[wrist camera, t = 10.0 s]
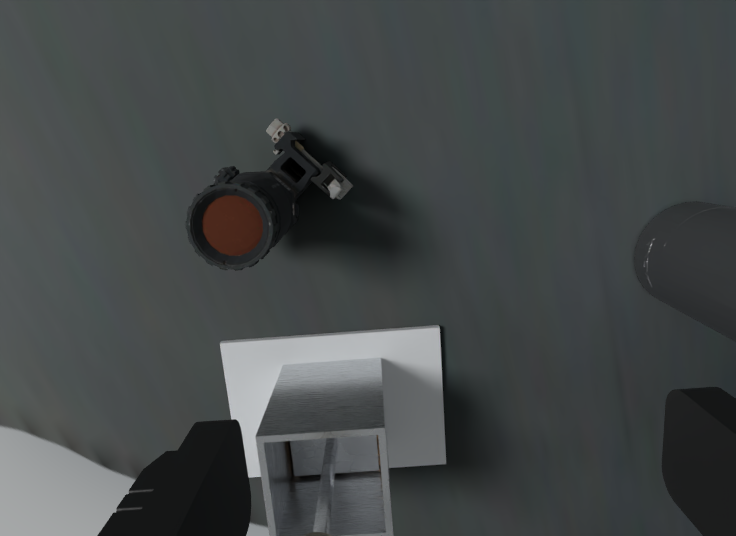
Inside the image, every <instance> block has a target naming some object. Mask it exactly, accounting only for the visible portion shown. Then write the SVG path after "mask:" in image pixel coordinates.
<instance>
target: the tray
mask: <svg viewBox="0 0 736 536" xmlns="http://www.w3.org/2000/svg"><path fill="white" fill-rule="evenodd" d="M220 348H221V354H222V361H223V367H224V374H225V380H226V387H227V393H228V399H229V406H230V412H231V419H232V420H233V419H236V420H237V421H238V422H239V424H240V427H241V431H242V438H243V444H244V451H245V458H246V464H247V471H248V477H261V472H260V465H259V458H258V452H257V445H256V438H255V436H256V434H257V431H258V429H259V426H260V423H261V421H262V418H263V416H264V413H265V410H266V408H267V405H268V403H269V400H270V397H271V395H272V392H273V390H274V387H275V384H276V382H277V379H278V377H279V374H280V371H281V369H282V366H283V365H284V364H298V363H312V362H326V361H340V360H354V359H368V358H381V366H382V378H383V391H384V404H385V417H386V430H387V443H388V459H389V468H396V467H411V466H426V465H440V464H446V448H445V427H444V406H443V385H442V364H441V343H440V327H439V325H434V326H421V327H407V328H393V329H379V330H366V331H352V332H338V333H325V334H311V335H297V336H283V337H270V338H256V339H242V340H229V341H221V343H220Z"/></svg>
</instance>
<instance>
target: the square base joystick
mask: <svg viewBox="0 0 736 536" xmlns="http://www.w3.org/2000/svg"><path fill="white" fill-rule="evenodd" d="M367 435H376V436H377V448H378V460H379V470H377V471H362V472H348V473H335V477H334V486H333V496H332V506H331V516H330V525H329V534H330V535H332V536H393V523H392V507H391V491H390V475H389V459H388V443H387V430H386V417H385V404H384V391H383V378H382V366H381V358H368V359H354V360H340V361H326V362H312V363H298V364H284V365H283V366H282V369H281V371H280V374H279V377H278V379H277V382H276V384H275V387H274V390H273V392H272V395H271V397H270V400H269V403H268V405H267V408H266V410H265V413H264V416H263V418H262V421H261V423H260V426H259V429H258V431H257V434H256V436H255V438H256V445H257V452H258V458H259V465H260V472H261V479H262V486H263V493H264V500H265V507H266V514H267V521H268V528H269V535H270V536H303V535H305V534H308V533H311V532H313V528H314V521H315V514H316V507H317V500H318V493H319V486H320V479H321V474H318V475H303V476H294V468H293V460H292V452H291V445H290V441H295V440H309V439H324V438H338V437H353V436H367Z"/></svg>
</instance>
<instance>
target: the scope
mask: <svg viewBox="0 0 736 536" xmlns="http://www.w3.org/2000/svg"><path fill="white" fill-rule="evenodd" d="M266 132H267V133H268V134H269V135H271V136H272V141H273V142H274V143H276V144H275V149H276V150H273V152H274V153H275V154H276V155H277V154H280V153H281V152H282V151H285V153H284V154H283V155H282V156H280V157H279V158H278V159H277V160H276V161H274V163H273V164H272V165H271V166H270V167H269V168H268V169H267V171H265V172H246V173H241V174H239V170H237V169H236V167H235V166H231V167H229V168H222V169H221V170H220V171H219V174H220V175H218V176H215V177H214V182H215V183H214V185H210V186H208V187H207V188H205V189H204V191H203V192H202V193H200V194H197V195H196V197H195V198H194V199H193V203H192V205H191V206H190V207H189V208H188V211H187V221H186V229H187V232H188V236H189V237H188V239H189V242H190V244H192V245H193V247H194V249H195V252H196V253H197V254H198V255H199V256H201V257H202V258H204V259H205V260H206V262H207V263H208V264H210V265H215V266H217V267H220V269H223V270H228V269H234V270H235V271H236V270H242V269H243V268H245V267H248V266H249V267H252V266H254V265H255V264H257V263H258V262H259V259H263V258H264V257H265V256H266V255H267V254H268V253H269V249H271V248H272V247H274V246H275V245H276V244H277V243H278V242H279V240H280V239H281V238H282V237H283V236H284V235H285V234H286V233H287V232H288V230H289V229H290V228H291V227H292V226H293V225H294V224H295V222H296V221H297V220H298V215H299V205H298V203H297V199H298V197H299V196H300V195H301V194H302V193H303V192H304V190H305V189H306V188H307V187H308V186H309V185H310V184H311V182H312V181H313V182H314V183H315V184H316V185H317V186H318V187H319V188H320V189H321V190H322V191H324V192H325V193H326V194H327V195H328V196H330V197H331V198H332V199H334V198H338V199H339V200H341V199H342V198H343V197H344V196H345V195H346V193H347V192H348V191H349V190H350V189H351V188H352V187H353V185H352V184H351V183H350V182H349V181H348V180H347V179H346V177H347V176H346V175H345V174H344V173H343V172H342V171H341V170H340V169H339V168H337V167H336V166H335V165H334V164H333V163H332V162H331V161H328V162H326V163H324V164H323V166H321V165H320V164H319V163H318V162H317V161H316V160H315V159H314V158H313V157H312V156H310V155H309V154H308V153H307V152H306V151H305V150H304V147H303V146H302V145H300V140H306V139H305V138H304V137H302V136H301V135H300V134H299V133H295V132H291V127H290V126H289V125H288V124H287V123H285V124H283V123H282V122H281V121H280V120H279V119H278V118H276V119H275V120H274V121H273V122H272V123H271V124H270V126H269V127H268V128H267V130H266ZM294 160H295V161H296V162H297V163H298V164H299V165H300V166H301V167H302V168H304V169H305V170H306V174H305V175H304V176H302V175H301V174H299V173H298V172H297V171H296V170H295V169H294V168H293V167H292V166H291V163H292V162H293V161H294Z"/></svg>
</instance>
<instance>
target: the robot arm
mask: <svg viewBox="0 0 736 536" xmlns="http://www.w3.org/2000/svg"><path fill="white" fill-rule="evenodd" d="M634 260H635V270H636V273H637V277H638V279H639V281H640V283H641V284H642V286H643V287H644V288H645V289H646V290H647V291H648V292H649V293H650V294H651V295H652V296H654V297H656V298H657V299H659V300H661V301H662V302H664V303H666V304H668V305H670V306H672V307H673V308H675V309H677V310H679V311H680V312H682V313H684V314H686V315H688V316H690V317H691V318H693V319H695V320H697V321H699V322H701V323H702V324H704V325H706V326H708V327H710V328H712V329H714V330H715V331H717V332H719V333H721V334H723V335H725V336H726V337H728V338H730V339H732V340H734V341H736V208H733V207H727V206H721V205H716V204H710V203H703V202H685V203H681V204H677V205H674V206H672V207H670V208H668V209H666V210H664V211H662V212H661V213H660V214H658V215H657V216H656V217H655V218H653V220H652V221H651V222H650V223H649V224H648V225H647V226H646V227H645V229H644V231H643V232H642V234H641V236H640V238H639V240H638V243H637V246H636V250H635V257H634ZM662 473H663V478H664V482H665V485H666V487H667V490H668V492H669V494H670V496H671V498H672V499H673V501H674V502H675V503H676V504H677V506H678V507H679V508H680V509H681V510H682V511H683V513H684V514H685V515H686V516H687V517H688V519H689V520H690V521H691V522H692V523H693V524H694V526H695V527H696V528H697V529H698V530H699V532H700V533H701V534H702V535H703V536H736V399H735V398H734V397H732V396H731V395H730V394H728V393H727V392H725V391H724V390H722V389H721V388H718V387H706V388H691V389H677V390H672V391H671V392H670V393H669V394H668V396H667V399H666V405H665V421H664V437H663V452H662ZM250 515H251V491H250V484H249V477H248V471H247V464H246V458H245V451H244V444H243V438H242V431H241V427H240V424H239V422H238V421H237V420H236V419H233V420H219V421H204V422H196V423H195V424H194V425H193V427H192V428H191V430H190V431H189V433H188V435H187V436H186V438H185V439H184V441H183V443H182V444H181V446H180V448H179V449H178V451H166V452H165V453H164V454H162V455H161V456H160V457H159V458H157V459H156V460H155V461H153V462H152V463H151V464H150V465H148V466H147V467H146V468H145V469H143V471H142V472H141V473H140V475H139V476H138V478H137V479H136V481H135V482H134V484H133V485H132V487H131V488H130V490H129V494H127V495H125V497H124V498H123V500H122V501H121V502H120V504H119V505H118V507H117V511H116V513H113V514H112V516H111V517H110V518H109V520H108V521H107V523H106V524H105V526H104V527H103V529H102V530H101V532H100V533H99V534H98V536H246V534H247V531H248V527H249V522H250Z"/></svg>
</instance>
